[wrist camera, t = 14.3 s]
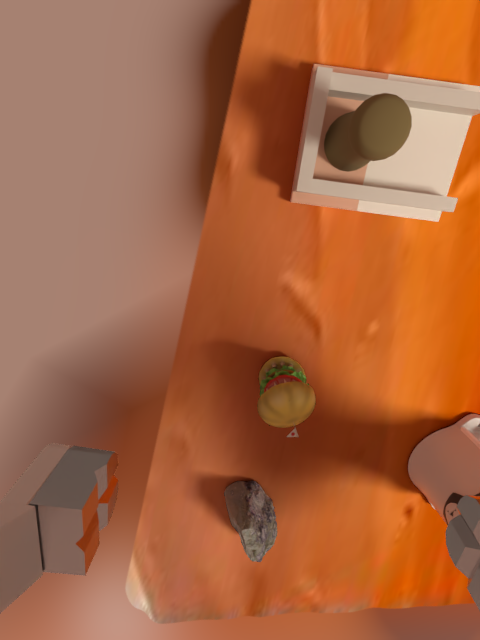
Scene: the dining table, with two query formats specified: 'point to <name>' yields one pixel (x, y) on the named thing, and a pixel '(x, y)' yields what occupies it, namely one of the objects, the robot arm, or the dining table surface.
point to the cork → (368, 132)
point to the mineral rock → (252, 517)
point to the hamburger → (284, 394)
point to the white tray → (397, 170)
